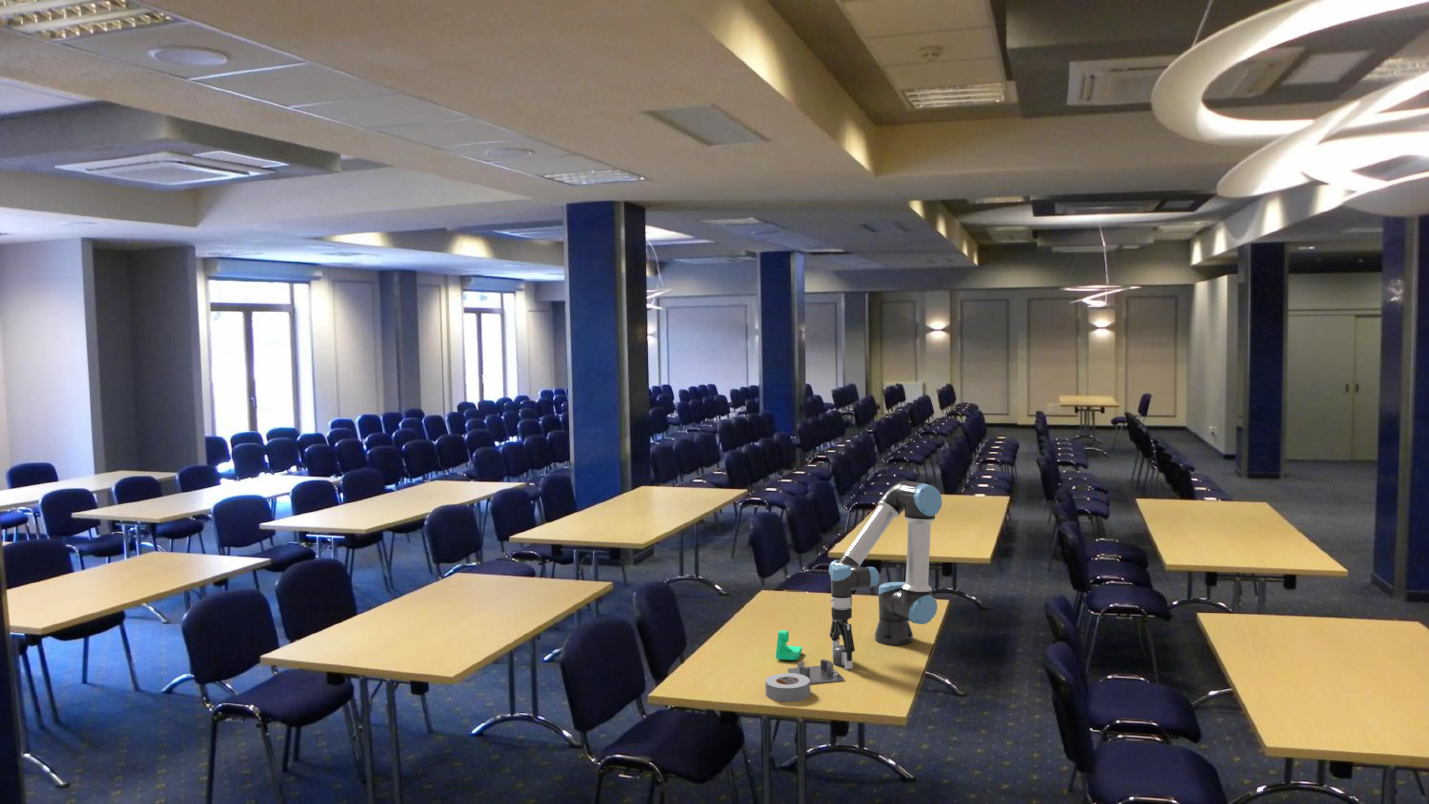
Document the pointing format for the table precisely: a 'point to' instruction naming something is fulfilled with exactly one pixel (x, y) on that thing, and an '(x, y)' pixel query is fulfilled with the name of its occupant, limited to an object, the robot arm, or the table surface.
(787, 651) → the camera mount
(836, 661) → the cap
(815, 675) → the ball joint plate
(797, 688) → the tape roll
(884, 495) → the robot arm
